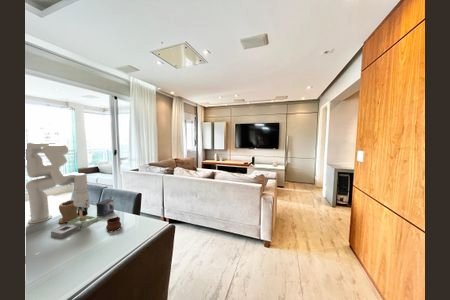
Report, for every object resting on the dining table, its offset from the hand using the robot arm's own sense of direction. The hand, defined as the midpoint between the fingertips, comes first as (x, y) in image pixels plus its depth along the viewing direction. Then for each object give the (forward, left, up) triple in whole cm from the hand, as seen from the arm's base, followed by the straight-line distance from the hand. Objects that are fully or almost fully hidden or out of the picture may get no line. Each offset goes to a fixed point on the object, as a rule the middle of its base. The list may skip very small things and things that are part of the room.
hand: (82, 214), depth 130 cm
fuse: (0, 0, -4) cm, 4 cm away
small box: (+2, +16, -6) cm, 17 cm away
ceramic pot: (+30, -1, -6) cm, 31 cm away
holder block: (+4, -14, -6) cm, 16 cm away
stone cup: (-13, +1, -6) cm, 14 cm away
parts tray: (0, 0, -6) cm, 6 cm away
